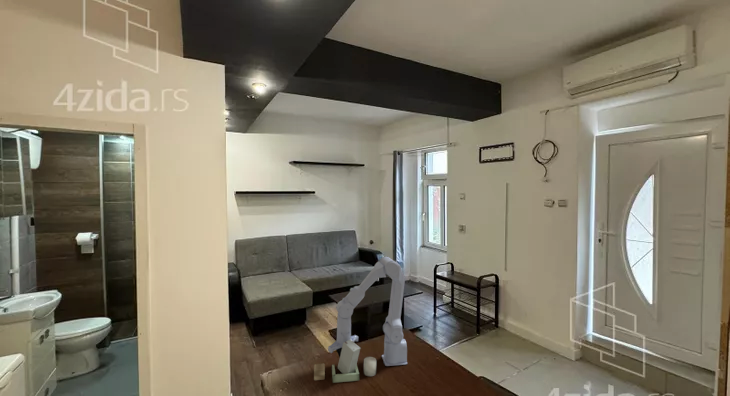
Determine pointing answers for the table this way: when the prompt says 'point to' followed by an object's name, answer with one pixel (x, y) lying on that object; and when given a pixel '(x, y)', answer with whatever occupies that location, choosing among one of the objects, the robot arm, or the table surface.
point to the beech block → (319, 371)
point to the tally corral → (345, 376)
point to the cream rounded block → (369, 366)
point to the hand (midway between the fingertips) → (343, 363)
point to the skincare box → (348, 357)
